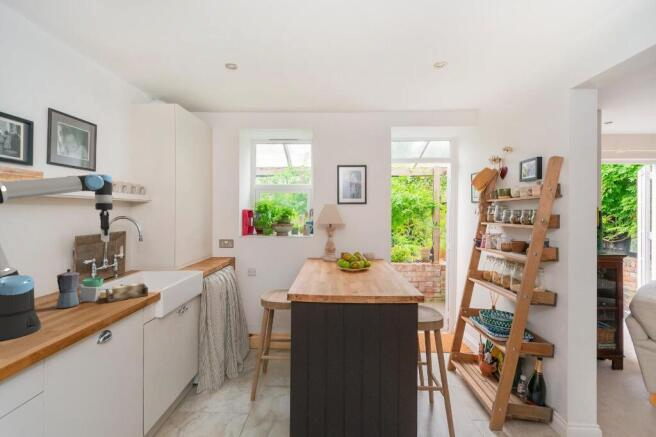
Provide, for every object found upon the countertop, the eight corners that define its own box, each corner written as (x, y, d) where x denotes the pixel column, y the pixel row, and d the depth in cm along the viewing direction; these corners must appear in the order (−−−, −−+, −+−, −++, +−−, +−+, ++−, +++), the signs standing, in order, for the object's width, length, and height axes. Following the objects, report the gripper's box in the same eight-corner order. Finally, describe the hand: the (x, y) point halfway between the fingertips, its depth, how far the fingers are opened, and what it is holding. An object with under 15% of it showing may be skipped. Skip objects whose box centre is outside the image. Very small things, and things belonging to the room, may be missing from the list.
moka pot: (85, 301, 161) (84, 266, 160) (71, 309, 146) (70, 271, 146) (64, 303, 157) (63, 267, 157) (48, 312, 143) (47, 273, 142)
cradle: (108, 302, 157) (107, 294, 157) (106, 297, 167) (105, 289, 167) (148, 295, 170) (147, 287, 170) (143, 291, 180) (143, 283, 180)
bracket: (99, 301, 164) (101, 284, 164) (94, 303, 160) (96, 286, 160) (77, 299, 162) (80, 282, 162) (72, 302, 158) (74, 284, 158)
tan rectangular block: (113, 299, 162) (113, 288, 162) (112, 297, 166) (112, 287, 166) (142, 294, 172) (141, 284, 171) (140, 292, 175) (140, 282, 175)
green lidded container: (100, 296, 169) (99, 280, 169) (79, 298, 165) (79, 281, 165) (108, 290, 183) (108, 275, 182) (89, 292, 179) (89, 276, 179)
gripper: (114, 202, 149) (116, 241, 150) (110, 203, 168) (111, 238, 168) (96, 201, 144) (97, 243, 145) (93, 203, 163) (95, 239, 163)
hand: (105, 240), depth 157 cm, fingers open, 13 cm apart
